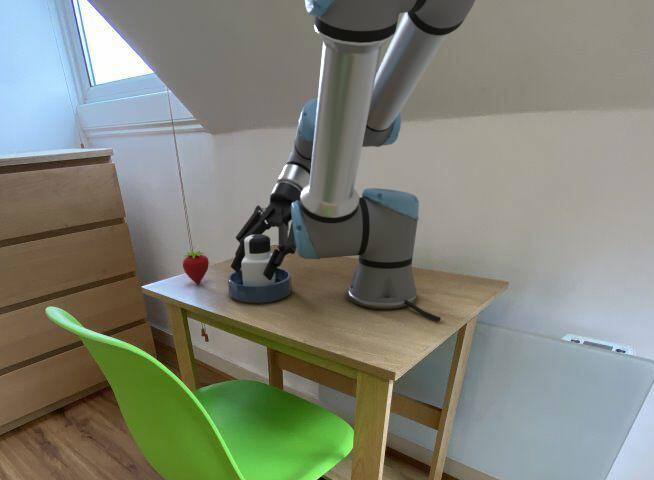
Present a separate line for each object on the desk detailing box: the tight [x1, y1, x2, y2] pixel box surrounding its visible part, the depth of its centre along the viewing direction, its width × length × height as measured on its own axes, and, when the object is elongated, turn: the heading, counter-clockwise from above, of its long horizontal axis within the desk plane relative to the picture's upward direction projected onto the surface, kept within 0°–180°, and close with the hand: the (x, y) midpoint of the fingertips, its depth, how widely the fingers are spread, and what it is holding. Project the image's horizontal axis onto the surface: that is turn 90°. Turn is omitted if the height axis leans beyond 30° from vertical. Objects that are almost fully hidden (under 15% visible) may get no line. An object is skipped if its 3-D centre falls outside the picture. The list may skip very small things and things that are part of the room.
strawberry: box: [182, 247, 210, 285], centre depth 113 cm, size 6×8×10 cm
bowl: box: [227, 267, 292, 304], centre depth 106 cm, size 15×15×4 cm
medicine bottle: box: [241, 234, 276, 286], centre depth 103 cm, size 7×7×12 cm
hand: (250, 273), depth 102 cm, fingers closed on medicine bottle, 10 cm apart
